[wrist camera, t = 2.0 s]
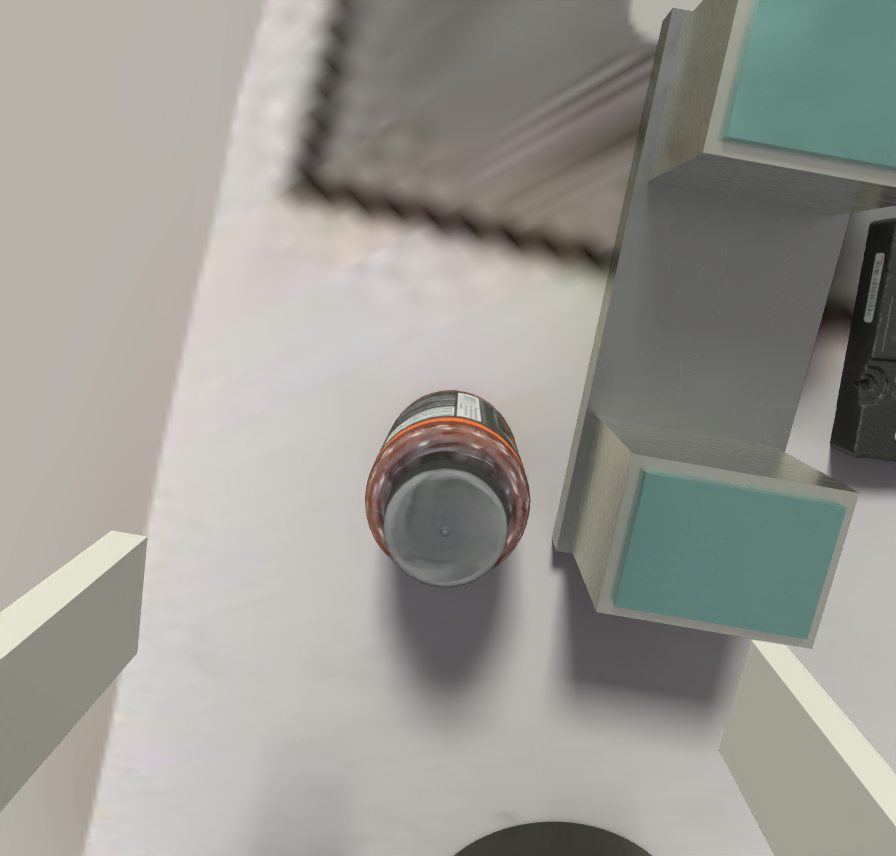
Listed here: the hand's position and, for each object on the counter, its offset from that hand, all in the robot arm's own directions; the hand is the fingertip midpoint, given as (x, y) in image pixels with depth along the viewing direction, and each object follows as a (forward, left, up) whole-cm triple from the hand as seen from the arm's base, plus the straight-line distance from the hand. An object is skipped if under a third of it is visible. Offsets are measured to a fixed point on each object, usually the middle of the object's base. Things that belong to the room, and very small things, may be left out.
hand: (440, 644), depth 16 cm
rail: (+8, -10, -19) cm, 23 cm away
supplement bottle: (0, 0, -19) cm, 19 cm away
